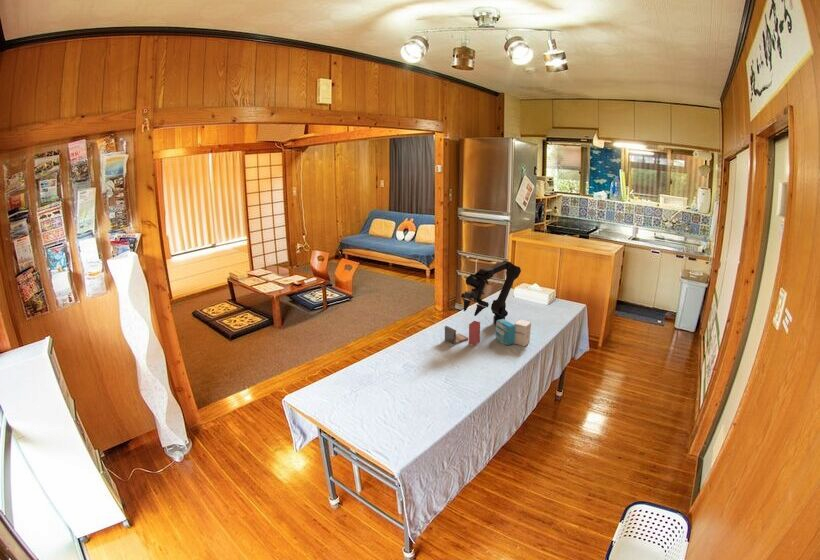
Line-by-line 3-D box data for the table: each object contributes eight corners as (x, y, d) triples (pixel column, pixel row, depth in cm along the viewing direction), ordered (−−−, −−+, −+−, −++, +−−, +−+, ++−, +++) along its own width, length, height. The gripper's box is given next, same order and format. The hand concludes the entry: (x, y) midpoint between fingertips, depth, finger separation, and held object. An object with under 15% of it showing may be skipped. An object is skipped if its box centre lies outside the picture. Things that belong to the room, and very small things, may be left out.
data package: (495, 338, 252) (496, 319, 248) (501, 336, 253) (502, 318, 250) (508, 346, 241) (509, 327, 238) (514, 344, 243) (515, 325, 239)
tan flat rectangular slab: (458, 335, 257) (458, 333, 256) (468, 339, 250) (468, 337, 250) (446, 339, 251) (446, 337, 251) (455, 344, 245) (455, 342, 245)
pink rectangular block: (473, 340, 250) (474, 320, 246) (479, 341, 247) (480, 322, 243) (468, 344, 245) (469, 324, 241) (474, 345, 243) (475, 325, 239)
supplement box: (512, 343, 245) (513, 323, 241) (518, 338, 250) (519, 319, 246) (524, 346, 240) (526, 326, 236) (530, 341, 246) (531, 321, 242)
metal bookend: (446, 339, 251) (446, 325, 248) (455, 344, 245) (455, 330, 242) (444, 340, 250) (444, 326, 247) (453, 345, 244) (453, 330, 241)
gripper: (459, 281, 255) (450, 306, 256) (481, 289, 240) (471, 315, 241) (471, 286, 262) (462, 310, 262) (493, 294, 247) (483, 319, 248)
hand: (469, 313), depth 253 cm, fingers open, 9 cm apart
